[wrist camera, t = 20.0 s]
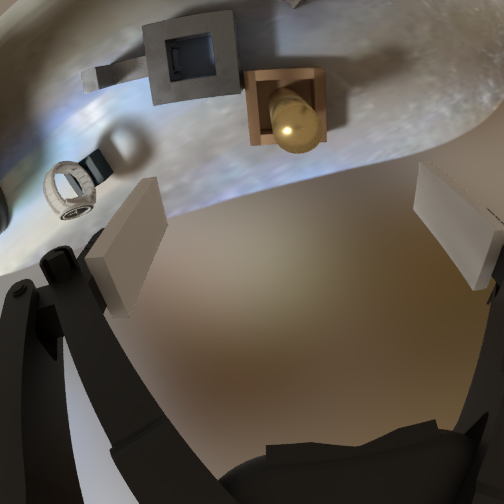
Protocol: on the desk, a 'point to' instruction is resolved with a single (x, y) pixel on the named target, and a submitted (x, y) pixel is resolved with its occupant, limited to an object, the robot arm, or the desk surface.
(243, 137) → the desk surface
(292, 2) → the electronic device
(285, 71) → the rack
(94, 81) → the grey l-shaped block
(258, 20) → the desk surface
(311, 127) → the tan rounded cylinder
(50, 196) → the watch
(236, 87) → the socket block
